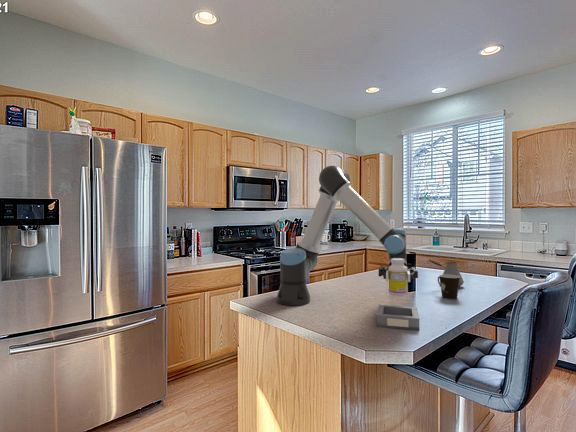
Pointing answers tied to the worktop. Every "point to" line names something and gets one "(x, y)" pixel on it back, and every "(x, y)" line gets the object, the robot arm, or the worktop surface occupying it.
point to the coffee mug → (449, 286)
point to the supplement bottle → (398, 277)
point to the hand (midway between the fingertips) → (397, 277)
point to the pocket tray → (398, 317)
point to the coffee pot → (450, 270)
